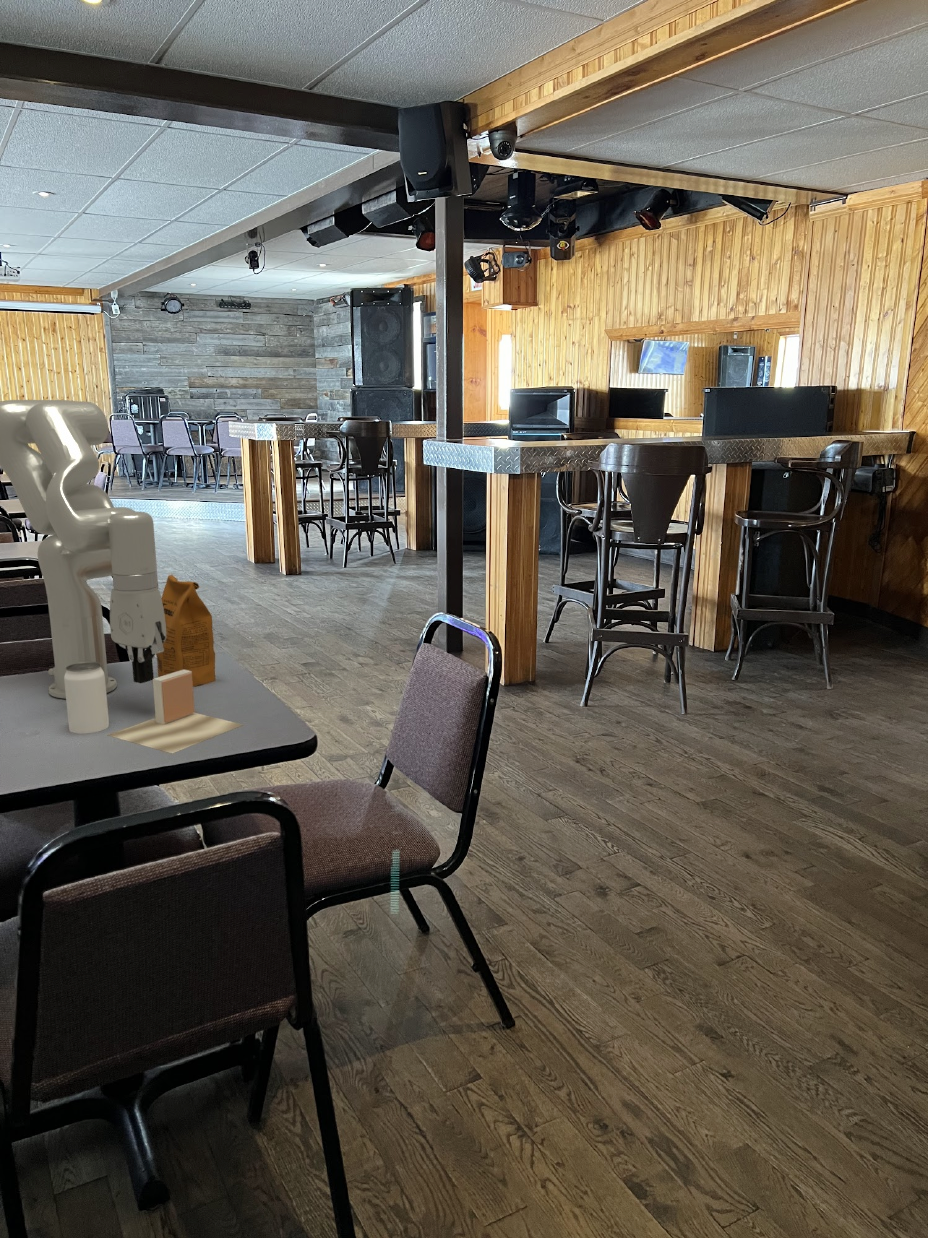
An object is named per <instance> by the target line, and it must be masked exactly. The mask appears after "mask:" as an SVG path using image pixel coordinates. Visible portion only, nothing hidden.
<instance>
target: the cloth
mask: <svg viewBox="0 0 928 1238" xmlns="http://www.w3.org/2000/svg"><path fill="white" fill-rule="evenodd" d="M243 726H244V724H242V723H238V722H234V721H230V720H226V719H222V718H218V717H214V716H210V715H209V716H208V715H205V714H201V713H197V712H194V714H191V715H189V716H186V717H183V718H180V719H178V720H175V721H172V722H169V723H167V724H160V723H156V717H154V718H151V719H148V720H145V721H143V722H140V723H137V724H134V725H131V726H129V727H125V728H123V729H120V730H117V731H114V732H112V733H111V732H110V733H109V734H107V736H108V737H112V738H115V739H119V740H122V741H126V742H129V743H133V744H137V745H141V746H143V747H147V748H151V749H155V750H158V751H161V752H163V753H164V752H165V753H169V754H173V755H174V754H175V753H178V752H180V751H182V750H184V749H185V750H186V749H187V748H189V747H192V746H195V745H198V744H200V743H203V742H205V741H207V740H211V739H213V738H215V737H217V736H220V735H222V734H225V733H228V732H229V731H232V730H235V729H238V728H240V727H243Z"/></svg>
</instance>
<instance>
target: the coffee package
mask: <svg viewBox="0 0 928 1238" xmlns="http://www.w3.org/2000/svg"><path fill="white" fill-rule="evenodd" d="M199 588H200V585H199V583H197V582H195V581H180V580H178V578H177V577H176V576H175V575H173V574H169V575H168V576H167V579H166V582H165V585H164V589H163V591H162V595H161V599H162V604H163V609H164V615H165V623H166V641H165V642H164V643H162V644H163V648H164V651H163V652H161V653H157V654H155V655H156V662H157V667H156V669H157V676H158V677H161V676H164V675H167V674H171V673H174V672H177V671H180V670H189V671H192V681H193V688H195V687H198V686H202V685H207V684H211V683H213V682H216V652H215V648H214V645H215V644H214V643H215V641H214V631H213V616H212V613H211V612H210V610H209V609H208V607H207V606H206V604H205V603H204V602H203V600H202V599H201V597H200V596H199V595H198V593H197V590H198V589H199ZM158 677H157V678H158Z"/></svg>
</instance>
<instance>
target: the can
mask: <svg viewBox="0 0 928 1238" xmlns="http://www.w3.org/2000/svg"><path fill="white" fill-rule="evenodd" d="M64 682H65V693H66V699H65V701H66V703H65V704H66V709H67V710H66V711H67V720H68V730H69V732H71V733H73V734H81V735H82V734H93V733H98V732H101V731H104V730H106V729H108V727H109V726H110V721H109V720H110V719H109V709H108V707H109V706H108V698H107V696H108V695H107V693H106V684H105V675H104V672H103V670H102V668H101V664H100V663H97V662H81V663H75V664H72V665H69V666H67V667H66V673H65V676H64Z"/></svg>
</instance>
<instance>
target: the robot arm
mask: <svg viewBox="0 0 928 1238" xmlns="http://www.w3.org/2000/svg"><path fill="white" fill-rule="evenodd" d="M108 435H109V423H108V419H107V417H106V415H105V413H104V411H103V409H101V408H100V406H99V405H97V404H95V403H93V402H91V401H85V400H84V401H77V400H67V399H66V400H65V399H8V400H7V399H6V400H2V401H0V469H2V471H3V472H4V473H5V475H6V476H7V478H8V479H9V481H10V482H11V484H12V488H13V489H14V492H15V494H16V496H17V498H18V501H19V502H20V505H21V507H22V508H23V513H25V515H26V518H27V519H28V522H29V524H30V525H31V527H32V529H33V530H34V531H35V532H36V533H38V534H41V535H45V536H47V537H46V538H43V540H42V541H41V542H40V543H39V545H38V548H37V561H38V565H39V568H40V571H41V575H42V579H43V582H44V587H45V592H46V596H47V604H48V614H49V620H50V621H49V623H50V633H51V639H52V640H51V641H52V642H51V643H52V651H53V659H54V667H53V668H49V669H48V675H50V676H54V682H53V683H52V684H51V685H49V687H48V694H49V695H50V696H52V697H54V698H58V699H65V700H66V693H65V682H64V676H65V673H66V667H67V666H69V665H72V664H75V663H81V662H97V663H100V664H101V668H102V670H103V672H104V675H105V684H106V694H108V693H110V692H113V691H114V690H115V689H116V688H117V685H118V683H117V679H116V678H114V677H111V676H109V675H108V674H109V673H108V664H107V663H108V662H107V654H106V652H107V651H106V640H105V631H104V628H105V627H104V620H103V619H104V618H103V609H102V602H101V599H100V597H99V596H98V594H97V593H96V592H95V591H94V590H93V589H92V587H90V585H89V584H88V583H87V581H91V580H93V579H100V578H107V577H112V583H113V584H112V586H113V588H112V589H111V592H110V601H109V626H110V629H109V630H110V636H111V640H112V641H113V642H114V643H115V644H118V645H119V647H121V648H123V649H125V650H126V651H127V654H128V659H129V660H130V661H131V663H132V664H131V666H132V676H133V679H132V680H133V682H134V683H136V684H137V683H138V684H145V683H148V682H150V681H151V682H152V681H153V679H154V675H155V674H154V665H153V660H154V659H155V655H156V654H157V653H161V652H163V651H164V648H163V644H162V643H164V642H165V641H166V623H165V615H164V609H163V604H162V599H161V598H162V595H161V591H160V590H159V577H158V568H157V567H158V566H157V553H156V541H155V540H156V539H155V527H154V519H153V517H152V515H151V514H149V513H147V512H146V511H145V512H144V511H136V510H133V509H131V508H130V507H125V506H124V507H123V506H122V507H116V506H115V505H114V504H113V502H112V499H111V498H110V496H109V495H108V493H107V492H106V491H105V490H104V489H102V487H100V486H98V485H96V484H92V483H89V482H91V481H92V480H93V479H94V478H95V477H96V475H97V474H98V472H99V470H100V461H99V458H98V457H97V455H96V454H95V452H94V449H93V448H92V446H98V445H101V444H103V443H104V442H105V441H106V440H107V438H108ZM30 444H32V445H33V444H35V446H36V448H37V449H38V451H37V450H36V449H34V448H32V447H31V446H30ZM48 535H49V536H48Z"/></svg>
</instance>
